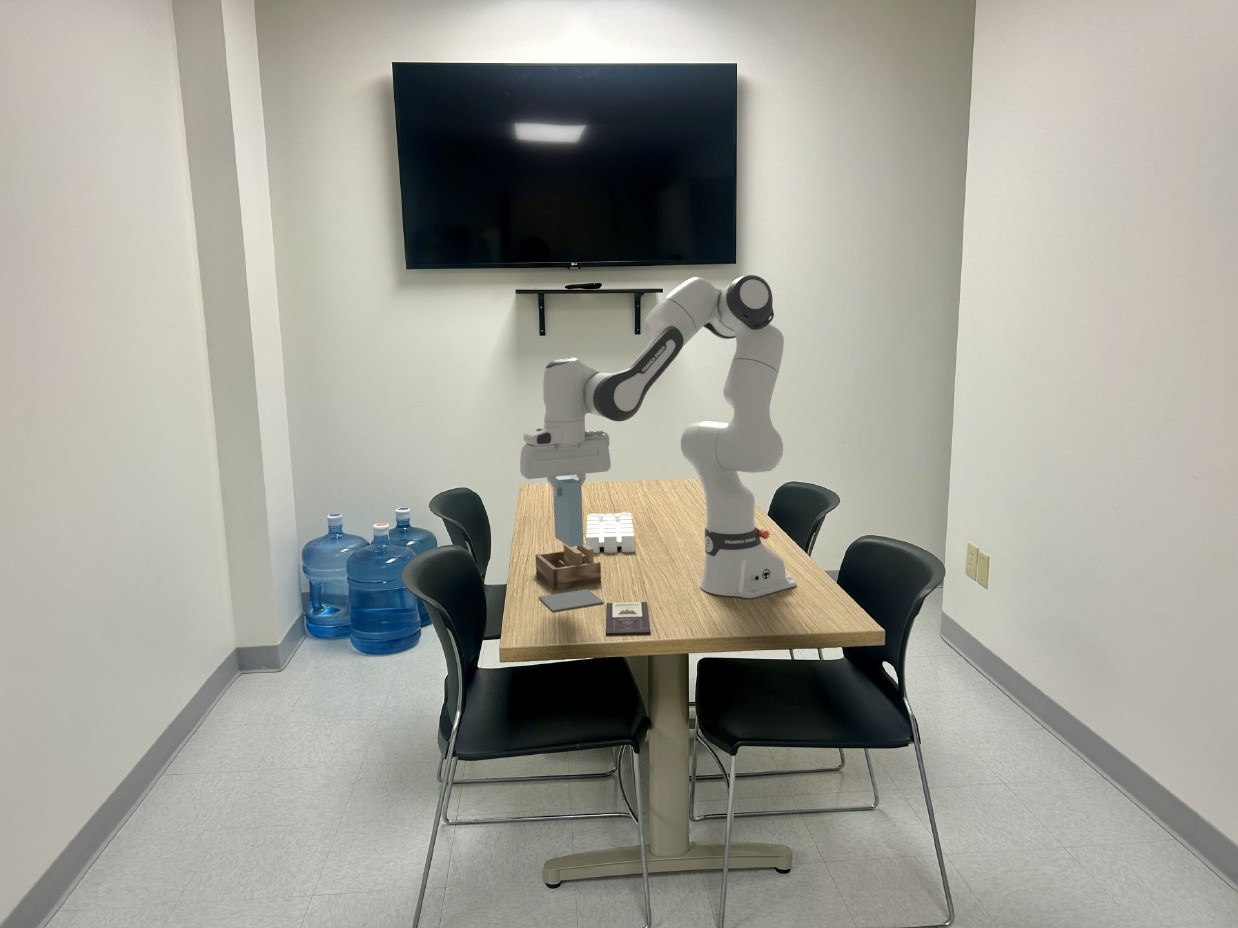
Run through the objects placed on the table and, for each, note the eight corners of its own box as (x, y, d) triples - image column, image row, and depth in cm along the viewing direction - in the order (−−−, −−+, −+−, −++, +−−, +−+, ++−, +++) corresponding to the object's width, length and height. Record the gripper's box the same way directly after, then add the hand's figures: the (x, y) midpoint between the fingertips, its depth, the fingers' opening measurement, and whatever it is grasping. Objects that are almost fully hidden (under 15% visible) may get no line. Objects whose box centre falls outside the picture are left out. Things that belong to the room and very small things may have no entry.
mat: (587, 590, 193) (587, 588, 193) (603, 603, 184) (603, 601, 184) (538, 598, 188) (538, 596, 188) (552, 611, 179) (552, 610, 179)
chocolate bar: (605, 633, 165) (606, 602, 183) (606, 637, 165) (606, 606, 183) (650, 631, 165) (646, 601, 183) (650, 636, 165) (646, 605, 183)
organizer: (586, 537, 223) (588, 508, 258) (586, 554, 224) (588, 523, 259) (634, 535, 224) (629, 506, 258) (634, 552, 224) (630, 521, 259)
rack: (580, 567, 211) (580, 548, 210) (601, 582, 199) (600, 562, 198) (536, 573, 207) (535, 554, 206) (554, 589, 194) (553, 569, 193)
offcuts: (579, 563, 209) (578, 539, 208) (594, 574, 200) (593, 549, 199) (563, 566, 207) (562, 541, 206) (577, 577, 198) (576, 551, 197)
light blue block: (568, 535, 189) (566, 475, 187) (583, 545, 180) (581, 482, 177) (555, 537, 188) (552, 476, 185) (569, 547, 178) (567, 483, 176)
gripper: (603, 428, 186) (605, 487, 189) (516, 434, 179) (519, 496, 181) (614, 431, 181) (615, 492, 183) (524, 438, 173) (527, 502, 175)
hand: (567, 494), depth 182 cm, fingers closed on light blue block, 3 cm apart
